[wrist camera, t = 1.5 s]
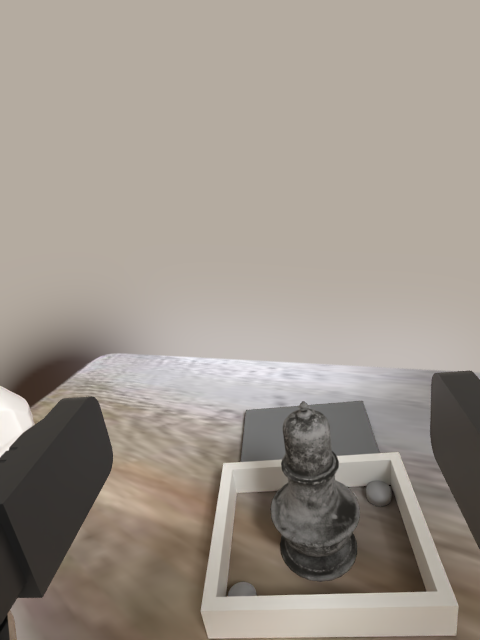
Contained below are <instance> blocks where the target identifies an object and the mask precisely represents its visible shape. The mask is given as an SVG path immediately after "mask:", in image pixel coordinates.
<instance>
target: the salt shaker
mask: <svg viewBox="0 0 480 640" xmlns="http://www.w3.org/2000/svg"><path fill="white" fill-rule="evenodd" d="M309 408H310V406H309V405H307V403H305V402H304V401H303V402H302V403H301V404H300V405H299V406H298V409H299V410H296V411H294V412H292V413H291V414H289V415H288V416H287V418H286V419H285V420H284V423H283V437H284V444H285V452H286V454H285V455H284V457H283V458H282V462H281V467H282V471H283V473H284V475H285V476H286V477H288V483H287V484H285V485H283V486H282V487H281V488H280V489H279V490H278V491H277V493H276V494H275V496H274V498H273V500H272V504H271V518H272V521H273V523H274V525H275V527H276V529H277V530H278V531H279V532H280V533H281V535H282V537H281V543H280V546H281V554H282V557H283V559H284V561H285V563H286V564H287V566H288V567H289V568H290V569H291V570H292V571H293V572H295V573H296V574H297V575H299V576H300V577H303V578H306V579H308V580H313V581H329V580H333V579H336V578H338V577H341V576H342V575H343V574H345V573H346V572H347V571H349V569H350V568H351V566H352V565H353V564H354V562H355V559H356V555H357V543H356V540H355V536H354V534H353V531H354V529H355V528H356V527H357V524H358V521H359V518H360V508H359V504H358V501H357V499H356V497H355V495H354V494H353V493H352V491H351V490H350V489H349V488H347V487H346V486H345V485H344V484H342V483H340V482H338V481H336V480H335V474H336V472H337V470H338V468H339V461H338V458H337V456H336V454H335V453H334V452H333V451H332V448H331V435H330V425H329V422H328V419H327V418H326V417H325V416H324V415H323V414H322V413H321V412H319V411H317V410H313V409H309Z"/></svg>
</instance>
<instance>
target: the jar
mask: <svg viewBox="0 0 480 640" xmlns="http://www.w3.org/2000/svg"><path fill="white" fill-rule="evenodd" d="M34 425H35V424H34V421H33V416H32V413H31V410H30V408H29V405H28V403H27V402H26V400H25V399H24V398H22V397H21V396H19V395H17V394H15V393H13V392H11V391H9V390H7V389H5V388H4V387H1V386H0V457H1V456H2V455H3V454H4V453H5V452H6V451H9V447H10V446H11V445H12V444H13V443H14V442H15V441H16V440H17V439H18V438H19V436H20V435H21V434H22V433H23V432H25V431H26V430H28V429H29V428H31V427H32V426H34Z"/></svg>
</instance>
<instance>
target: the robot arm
mask: <svg viewBox="0 0 480 640" xmlns="http://www.w3.org/2000/svg"><path fill="white" fill-rule="evenodd" d="M430 437H431V444H432V449H433V453H434V456H435V459H436V461H437V463H438V465H439V467H440V470H441V472H442V474H443V476H444V478H445V480H446V482H447V484H448V486H449V488H450V490H451V492H452V494H453V496H454V498H455V500H456V502H457V504H458V506H459V508H460V510H461V512H462V514H463V516H464V518H465V520H466V522H467V524H468V526H469V528H470V531H471V533H472V535H473V537H474V539H475V541H476V543H477V545H478V547H479V549H480V380H479V378H478V377H477V376H476V375H475V374H474V373H473V372H472V371H458V372H444V373H435V374H434V375H433V377H432V383H431V421H430ZM112 463H113V451H112V446H111V443H110V439H109V436H108V432H107V429H106V425H105V422H104V418H103V415H102V411H101V408H100V405H99V402H98V401H97V399H96V398H95V397H78V398H65V399H62V400H60V401H59V402H58V403H57V405H56V406H55V407H54V408H53V409H52V410H51V411H50V412H49V413H48V415H47V416H46V417H45V418H44V419H43V420H41V421H40V422H38V423H37V424H35V425H34V426H32V427H31V428H29V429H28V430H26V431H25V432H23V433H22V434H21V435H20V436H19V438H18V439H17V440H16V441H15V442H14V443H13V444H12V445H11V446H10V447H9V451H6V452H5V453H4V454H3V455H2V456H1V457H0V640H17V638H16V629H15V621H14V617H13V615H12V613H11V611H10V609H11V607H12V606H13V604H14V602H15V601H16V599H17V598H42V597H43V596H44V594H45V592H46V590H47V588H48V586H49V585H50V583H51V581H52V579H53V577H54V575H55V574H56V572H57V570H58V568H59V566H60V564H61V562H62V561H63V559H64V557H65V555H66V553H67V551H68V550H69V548H70V546H71V544H72V542H73V540H74V539H75V537H76V535H77V533H78V531H79V529H80V527H81V526H82V524H83V522H84V520H85V518H86V516H87V515H88V513H89V511H90V509H91V507H92V505H93V503H94V502H95V500H96V498H97V496H98V494H99V492H100V491H101V489H102V487H103V485H104V483H105V481H106V480H107V478H108V476H109V474H110V471H111V468H112Z"/></svg>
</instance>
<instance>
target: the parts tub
mask: <svg viewBox="0 0 480 640" xmlns="http://www.w3.org/2000/svg"><path fill="white" fill-rule="evenodd" d="M337 458H338V461H339V468H338V470H337V472H336V474H335V480H336V481H338V482H340V483H342V484H344V485H345V486H346V487H356V486H367V487H366V493H367V499H368V501H369V502H370V503H371V504H373V505H375V506H386V505H388V504H389V503H390V501H391V488H390V486H389V485H391V486H392V489H393V492H394V495H395V498H396V501H397V504H398V507H399V510H400V513H401V516H402V519H403V522H404V525H405V528H406V531H407V534H408V537H409V540H410V543H411V546H412V549H413V552H414V555H415V558H416V561H417V564H418V567H419V570H420V574H421V577H422V580H423V583H424V586H425V589H426V592H395V593H355V594H314V595H274V596H257V594H256V590H255V588H254V586H253V585H252V584H250V583H248V582H239V583H236V584H235V585H233V586H232V587H231V589H230V590H229V593H228V597H226V591H227V581H228V572H229V562H230V553H231V543H232V534H233V524H234V515H235V505H236V496H237V493H247V492H265V491H278V490H279V489H280V488H281V487H282V486H283V485H285V484H287V483H288V477H286V476H285V475H284V473H283V471H282V467H281V462H282V460H266V461H251V462H235V463H223V470H222V476H221V483H220V489H219V496H218V502H217V509H216V515H215V521H214V528H213V534H212V541H211V547H210V554H209V560H208V567H207V573H206V580H205V586H204V592H203V599H202V605H201V614H202V618H203V622H204V625H205V629H206V632H207V636H208V639H217V638H298V637H379V636H456V633H457V620H458V607H459V606H458V603H457V601H456V598H455V595H454V593H453V590H452V588H451V585H450V583H449V580H448V577H447V575H446V572H445V570H444V567H443V565H442V562H441V559H440V557H439V554H438V552H437V549H436V547H435V544H434V541H433V539H432V536H431V534H430V531H429V529H428V526H427V524H426V521H425V518H424V516H423V513H422V511H421V508H420V506H419V503H418V500H417V498H416V495H415V493H414V490H413V488H412V485H411V482H410V480H409V477H408V475H407V472H406V470H405V467H404V464H403V462H402V459H401V457H400V454H399V452H391V453H375V454H360V455H344V456H337Z"/></svg>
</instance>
